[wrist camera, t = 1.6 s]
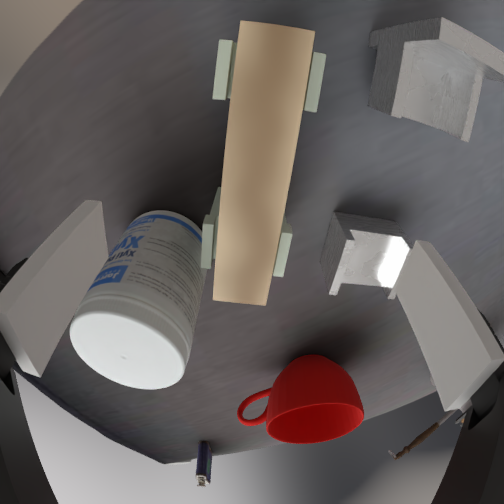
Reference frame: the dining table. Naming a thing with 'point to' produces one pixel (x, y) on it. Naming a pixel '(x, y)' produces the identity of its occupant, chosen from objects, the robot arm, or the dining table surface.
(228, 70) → the rack
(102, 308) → the supplement tub
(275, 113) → the rail
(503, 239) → the dining table surface
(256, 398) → the ceramic cup
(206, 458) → the flask
